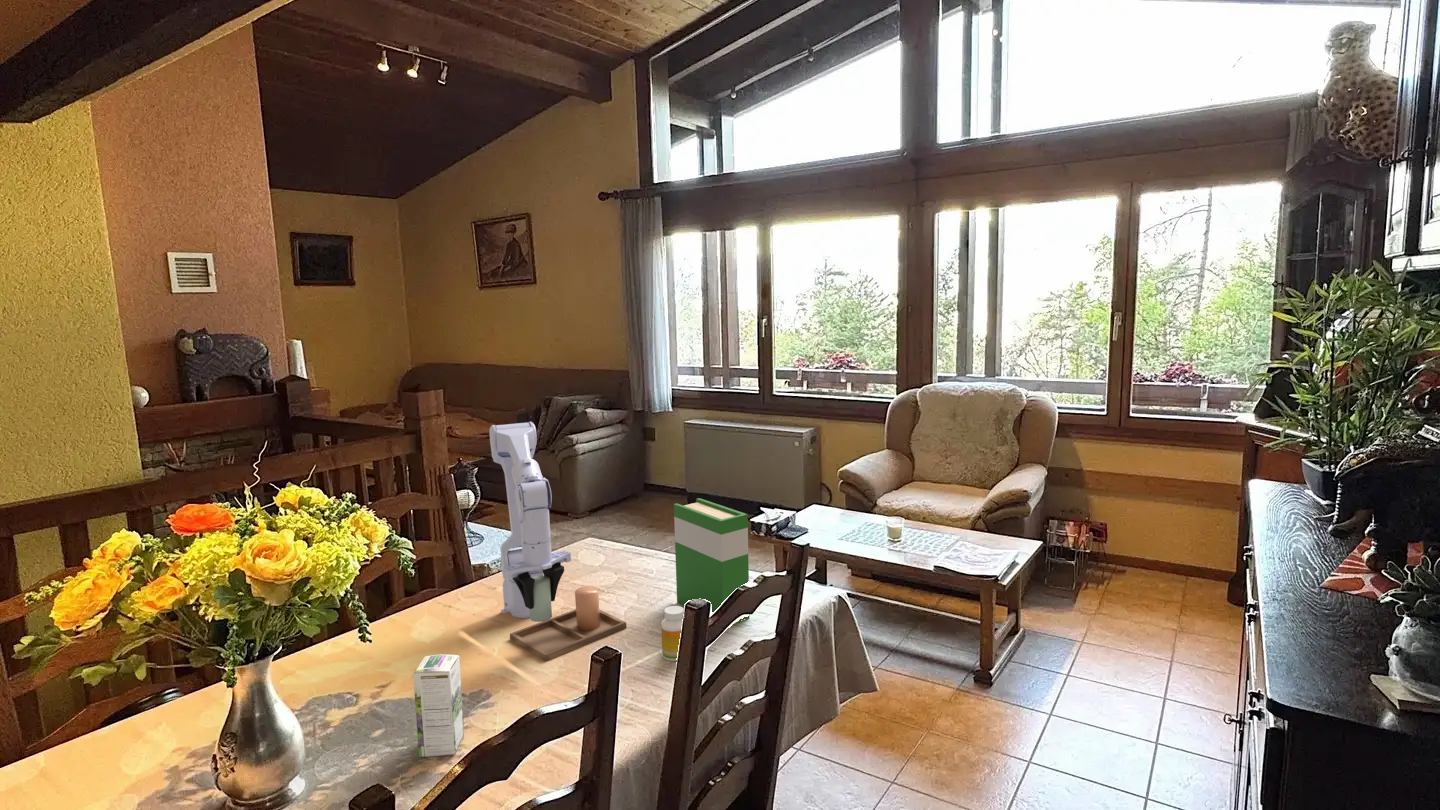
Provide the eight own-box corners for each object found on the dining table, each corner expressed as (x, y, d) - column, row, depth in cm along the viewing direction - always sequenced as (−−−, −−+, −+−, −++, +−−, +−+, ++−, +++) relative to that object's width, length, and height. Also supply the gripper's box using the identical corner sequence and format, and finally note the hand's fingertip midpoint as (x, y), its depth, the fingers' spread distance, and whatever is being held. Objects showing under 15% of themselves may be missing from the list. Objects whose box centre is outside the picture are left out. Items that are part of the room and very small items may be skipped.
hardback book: (677, 602, 174) (673, 504, 171) (702, 594, 179) (699, 498, 175) (723, 627, 160) (720, 521, 157) (749, 618, 165) (747, 514, 161)
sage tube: (525, 617, 152) (523, 580, 151) (544, 610, 155) (542, 574, 154) (537, 623, 149) (534, 586, 148) (556, 616, 152) (553, 579, 151)
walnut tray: (510, 642, 156) (509, 633, 156) (589, 612, 170) (588, 604, 170) (546, 664, 146) (545, 655, 146) (626, 631, 160) (626, 622, 160)
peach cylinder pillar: (572, 625, 161) (570, 591, 160) (591, 618, 165) (589, 584, 164) (585, 632, 158) (583, 597, 157) (604, 625, 161) (602, 590, 160)
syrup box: (429, 737, 123) (422, 655, 121) (465, 734, 123) (459, 652, 121) (418, 758, 117) (410, 672, 115) (456, 755, 118) (449, 670, 116)
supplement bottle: (685, 663, 146) (683, 616, 144) (659, 661, 147) (657, 614, 145) (691, 650, 151) (690, 605, 149) (666, 648, 152) (664, 603, 150)
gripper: (513, 553, 142) (518, 620, 144) (577, 535, 152) (581, 598, 154) (495, 545, 146) (500, 610, 149) (558, 528, 157) (562, 589, 159)
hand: (540, 603), depth 151 cm, fingers closed on sage tube, 4 cm apart
